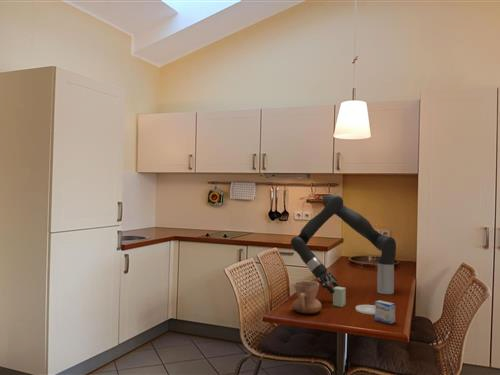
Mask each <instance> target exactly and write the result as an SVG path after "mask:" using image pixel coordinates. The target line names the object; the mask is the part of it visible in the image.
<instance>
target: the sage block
mask: <svg viewBox="0 0 500 375" xmlns="http://www.w3.org/2000/svg"><path fill="white" fill-rule="evenodd" d="M332 289H333V290H334V291H335V292H334V293H333V294H332V306H335V307H338V308H339V307H340V308H343V307H345V306H346V296H347V294H346V293H347V292H346V291H347V290H346V289H347V288H346V287H343V286H342V287H341V286H339V287H337V286H336V287H332Z"/></svg>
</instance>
